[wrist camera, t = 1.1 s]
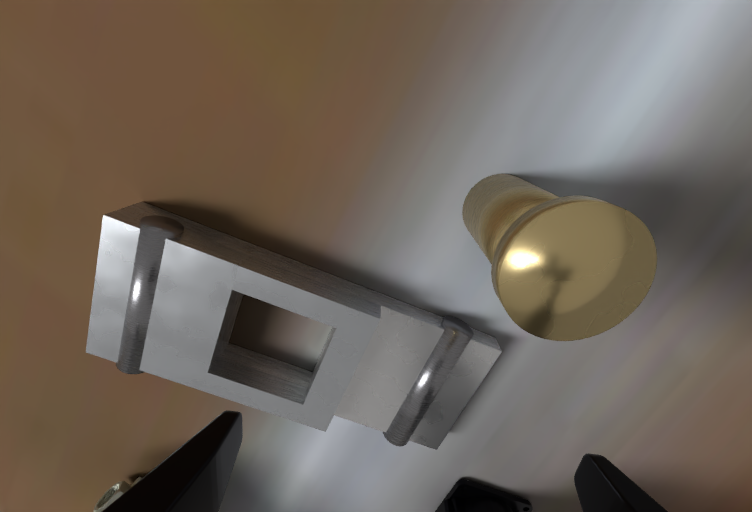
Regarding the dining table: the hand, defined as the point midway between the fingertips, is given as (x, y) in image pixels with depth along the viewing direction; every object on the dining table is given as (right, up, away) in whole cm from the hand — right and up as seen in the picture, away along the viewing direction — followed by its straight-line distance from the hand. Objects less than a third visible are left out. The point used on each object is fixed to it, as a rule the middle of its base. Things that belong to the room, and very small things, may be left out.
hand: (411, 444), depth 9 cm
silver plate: (-6, 0, +14) cm, 15 cm away
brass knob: (+6, +7, +11) cm, 14 cm away
